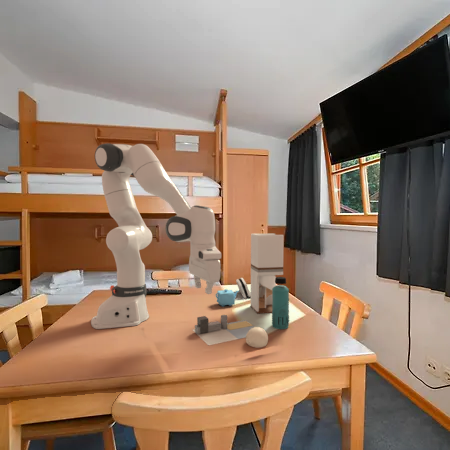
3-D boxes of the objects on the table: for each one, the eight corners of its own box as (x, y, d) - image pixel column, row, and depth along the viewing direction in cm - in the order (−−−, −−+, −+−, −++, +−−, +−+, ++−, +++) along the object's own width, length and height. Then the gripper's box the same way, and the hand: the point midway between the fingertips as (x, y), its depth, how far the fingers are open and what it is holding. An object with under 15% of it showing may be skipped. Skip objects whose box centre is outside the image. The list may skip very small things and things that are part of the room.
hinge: (253, 298, 153) (247, 280, 152) (245, 301, 152) (239, 283, 152) (247, 290, 169) (242, 274, 169) (240, 293, 169) (234, 277, 168)
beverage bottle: (276, 334, 106) (276, 279, 105) (268, 327, 112) (269, 276, 112) (292, 332, 107) (292, 278, 107) (284, 325, 114) (284, 275, 113)
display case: (257, 317, 124) (258, 235, 123) (250, 309, 134) (251, 233, 133) (282, 315, 126) (283, 234, 125) (274, 308, 136) (274, 233, 135)
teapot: (237, 302, 146) (237, 287, 145) (241, 305, 140) (241, 290, 140) (214, 303, 143) (214, 288, 143) (216, 307, 137) (216, 291, 137)
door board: (208, 350, 93) (208, 331, 93) (192, 333, 106) (192, 317, 106) (265, 337, 103) (265, 320, 103) (244, 323, 116) (244, 308, 116)
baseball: (241, 346, 96) (241, 326, 96) (260, 342, 99) (260, 322, 99) (251, 354, 90) (251, 333, 90) (271, 350, 93) (271, 329, 93)
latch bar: (197, 334, 101) (197, 320, 101) (194, 331, 104) (194, 317, 103) (221, 330, 105) (221, 316, 105) (217, 327, 108) (217, 313, 108)
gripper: (184, 249, 110) (184, 285, 111) (206, 255, 92) (206, 298, 93) (200, 248, 113) (200, 283, 114) (223, 254, 95) (224, 296, 95)
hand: (203, 290), depth 103 cm, fingers open, 8 cm apart
